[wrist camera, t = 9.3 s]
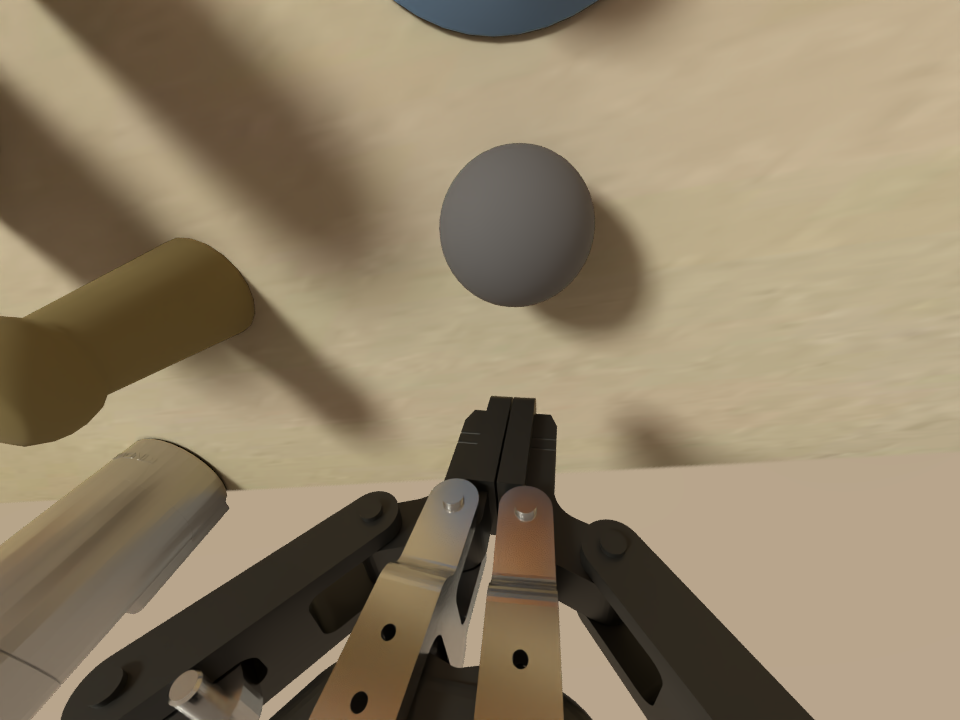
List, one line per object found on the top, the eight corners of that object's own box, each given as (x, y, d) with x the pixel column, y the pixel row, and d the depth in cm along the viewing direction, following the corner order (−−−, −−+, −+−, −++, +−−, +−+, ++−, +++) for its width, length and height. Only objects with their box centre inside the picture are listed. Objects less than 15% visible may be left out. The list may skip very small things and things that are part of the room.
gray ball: (590, 286, 10) (605, 91, 11) (404, 281, 12) (423, 111, 12) (586, 322, 16) (597, 192, 16) (459, 316, 17) (471, 197, 17)
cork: (270, 293, 21) (51, 427, 12) (234, 350, 25) (40, 489, 16) (172, 213, 20) (-158, 300, 11) (147, 284, 23) (-124, 398, 14)
